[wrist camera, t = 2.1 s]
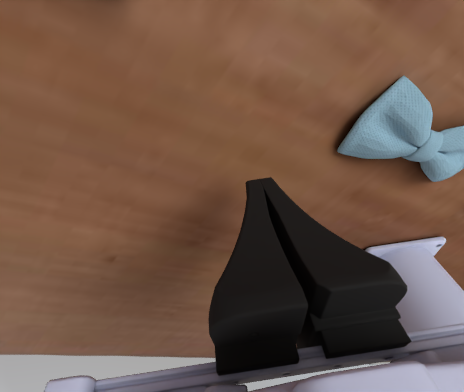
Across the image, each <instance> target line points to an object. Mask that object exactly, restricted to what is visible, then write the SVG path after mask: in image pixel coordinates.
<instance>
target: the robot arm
mask: <svg viewBox="0 0 464 392" xmlns="http://www.w3.org/2000/svg"><path fill="white" fill-rule="evenodd" d="M246 193H247V200H246V208H245V214H244V218H243V223H242V227H241V230H240V233H239V237H238V239H237V242H236V245H235V248H234V250H233V253H232V255H231V257H230V259H229V261H228V264H227V266H226V268H225V270H224V272H223V274H222V276H221V277H220V279H219V281H218V283H217V285H216V287H215V290H214V293H213V297H212V301H211V305H210V311H209V334H210V337H211V339H212V341H213V343H214V345H215V356H216V362H212V363H205V364H199V365H192V366H186V367H180V368H173V369H166V370H161V371H154V372H147V373H141V374H134V375H128V376H121V377H116V378H108V379H102V380H95V379H94V378H93V377H90V376H73V377H67V378H61V379H54V380H50V381H49V382H48V383H47V385H46V387H45V390H44V392H248V391H247V386H246V385H236V384H243V383H249V382H256V381H262V380H268V379H274V378H281V377H287V376H294V375H300V374H306V373H313V372H319V371H326V370H332V369H339V368H344V367H351V366H358V365H364V364H371V363H377V362H383V361H390V360H392V361H391V362H390V363H389V364H382V365H376V366H370V367H363V368H357V369H350V370H344V371H338V372H331V373H326V374H321V375H316V376H312V377H309V378H307V379H302V380H298V381H293V382H289V383H284V384H280V385H275V386H271V387H266V388H262V389H258V390H253V391H249V392H464V291H463V290H462V289H461V288H460V286H459V285H458V284H457V283H456V282H455V281H454V280H453V279H452V277H451V276H450V275H449V274H448V273H447V272H446V271H445V269H444V268H443V267H442V266H441V265H440V264H439V263H438V261H437V260H436V259H435V258H434V257H433V256H434V255H435V254H436V253H437V252H438V250H439V249H440V248H441V247H442V246H443V244H444V243H445V242H446V239H445V238H444V237H435V238H428V239H421V240H415V241H408V242H401V243H395V244H388V245H381V246H375V247H369V248H367V249H366V250H365V251H364V250H362V249H360V248H358V247H356V246H355V245H353V244H351V243H349V242H347V241H345V240H344V239H342V238H341V237H339V236H337V235H336V234H334V233H332V232H331V231H329V230H328V229H326V228H325V227H323V226H322V225H321V224H319V223H318V222H317V221H315V220H314V219H313V218H311V217H310V216H309V215H308V214H307V213H305V212H304V211H303V210H302V209H301V208H300V207H299V206H298V205H296V204H295V203H294V202H293V201H292V200H291V199H290V198H289V197H288V196H287V195H286V194H285V193H284V191H283V190H282V189H281V188H280V187H279V186H278V185H277V184H276V182H275V181H274V180H273V179H272V178H271V177H270V178H264V179H257V180H250V181H247V182H246ZM296 344H297V347H296Z"/></svg>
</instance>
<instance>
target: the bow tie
mask: <svg viewBox="0 0 464 392" xmlns="http://www.w3.org/2000/svg"><path fill="white" fill-rule="evenodd" d="M432 116H433V113H432V108H431V105H430V103H429V101H428V100H427V99H426V98H425V96H424V95H423V94H422V93H421V91H420V90H419V89H418V88H417V87H416V86H415V85H414V84H413V83H412V82H411V81H410V80H409V79H408V78H406V77H405V76H402V77H401V78H400V79H399V80H398V81H397V82H395V83H394V84H393V85H392V86H391V87H390V88H389V89H388V90H387V91H385V92H384V93H383V94H382V95H381V96H380V97H379V98H378V99H377V100H376V101H375V102H374V103H373V104H372V105H370V106H369V107H368V108H367V109H366V110H365V111H364V113H363V114H362V115H361V116H360V117H359V119H358V120H357V121H356V123H355V124H354V126H353V127H352V129H351V130H350V131H349V133H348V134H347V136H346V137H345V139H344V140H343V142H342V143H341V144H340V146H339V147H338V150H337V152H339V153H341V154H345V155H349V156H355V157H359V158H366V159H391V158H397V157H403V158H404V159H407V160H410V161H416V162H419V163H420V164H421V168H422V170H423V172H424V173H425V174H426V176H427V177H428V178H429V179H430V180H431V181H433V182H436V181H442V180H444V179H447V178H449V177H451V176H453V175H454V174H456V173H457V172H459V171H460V170H462V169H463V168H464V126H461V127H455V128H451V129H446V130H443V131H441V132H436V131H433V130H431V124H432Z"/></svg>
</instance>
